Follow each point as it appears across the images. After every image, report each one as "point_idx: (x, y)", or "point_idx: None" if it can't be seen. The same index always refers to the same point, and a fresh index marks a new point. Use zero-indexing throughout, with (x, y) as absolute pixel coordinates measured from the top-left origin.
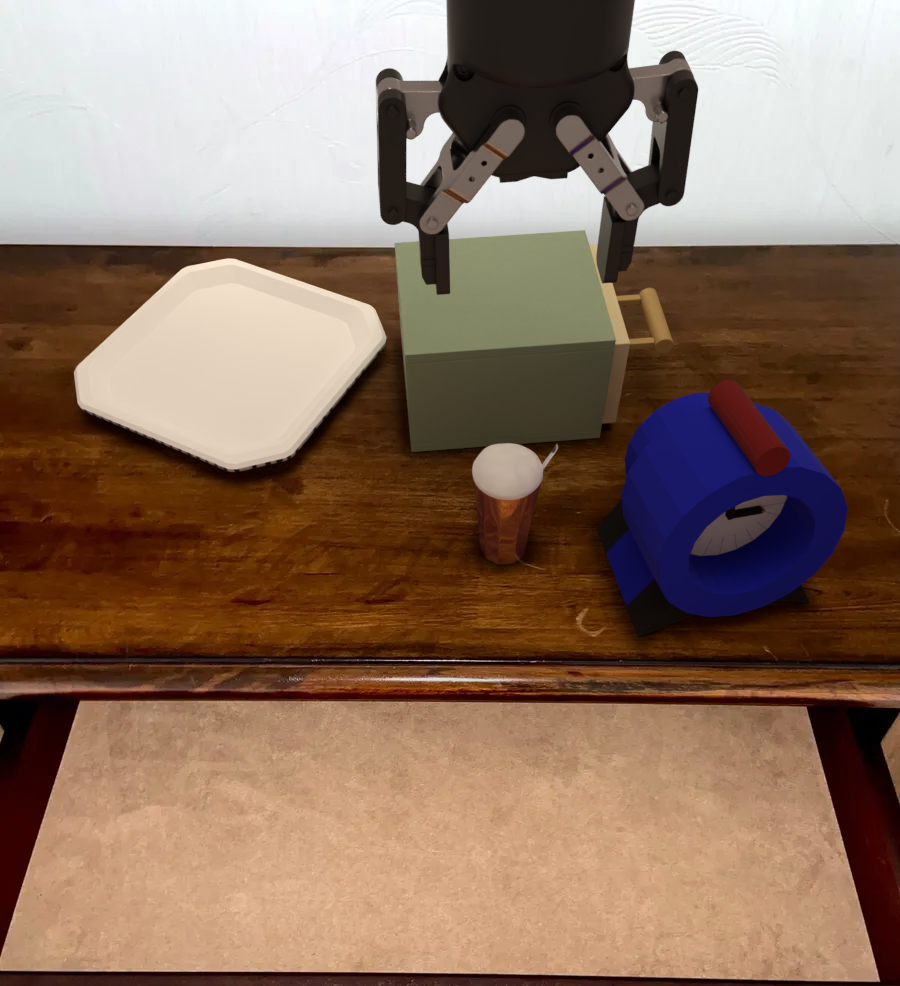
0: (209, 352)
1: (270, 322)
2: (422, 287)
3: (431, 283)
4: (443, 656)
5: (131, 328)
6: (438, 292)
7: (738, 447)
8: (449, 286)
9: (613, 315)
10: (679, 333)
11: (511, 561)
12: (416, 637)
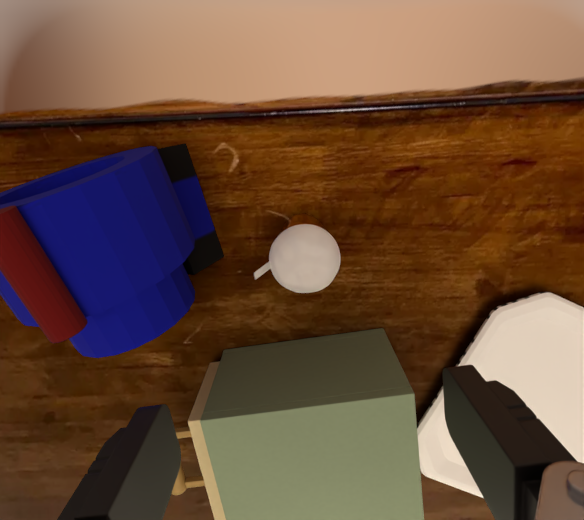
0: (566, 421)
1: None
2: (396, 480)
3: (487, 382)
4: (350, 114)
5: None
6: (469, 366)
7: (45, 250)
8: (453, 375)
9: (205, 454)
10: None
11: (295, 214)
12: (374, 133)
